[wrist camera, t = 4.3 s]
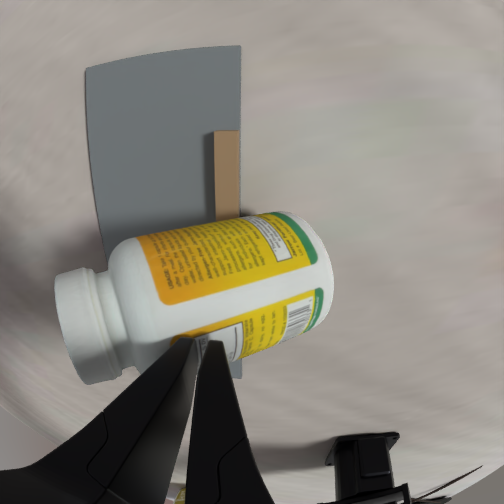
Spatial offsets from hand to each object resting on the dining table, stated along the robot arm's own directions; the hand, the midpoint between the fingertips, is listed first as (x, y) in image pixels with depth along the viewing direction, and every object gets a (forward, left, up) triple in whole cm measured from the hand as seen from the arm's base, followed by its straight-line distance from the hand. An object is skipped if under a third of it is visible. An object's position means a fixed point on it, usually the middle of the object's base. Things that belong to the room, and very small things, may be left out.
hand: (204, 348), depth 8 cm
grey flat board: (-1, +4, -8) cm, 9 cm away
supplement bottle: (0, -3, -6) cm, 6 cm away
